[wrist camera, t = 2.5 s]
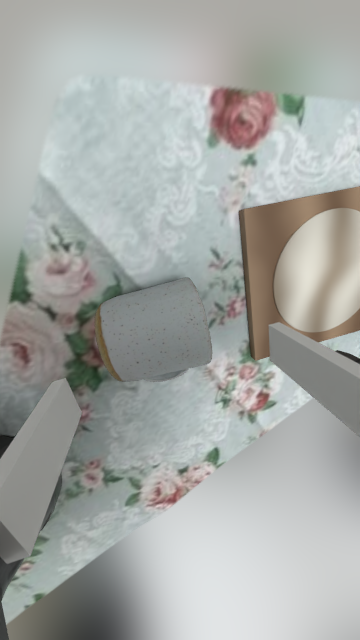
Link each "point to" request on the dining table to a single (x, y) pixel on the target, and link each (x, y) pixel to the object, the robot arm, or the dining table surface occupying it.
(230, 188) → the dining table surface
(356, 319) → the board
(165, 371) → the ceramic mug
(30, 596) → the dining table surface
